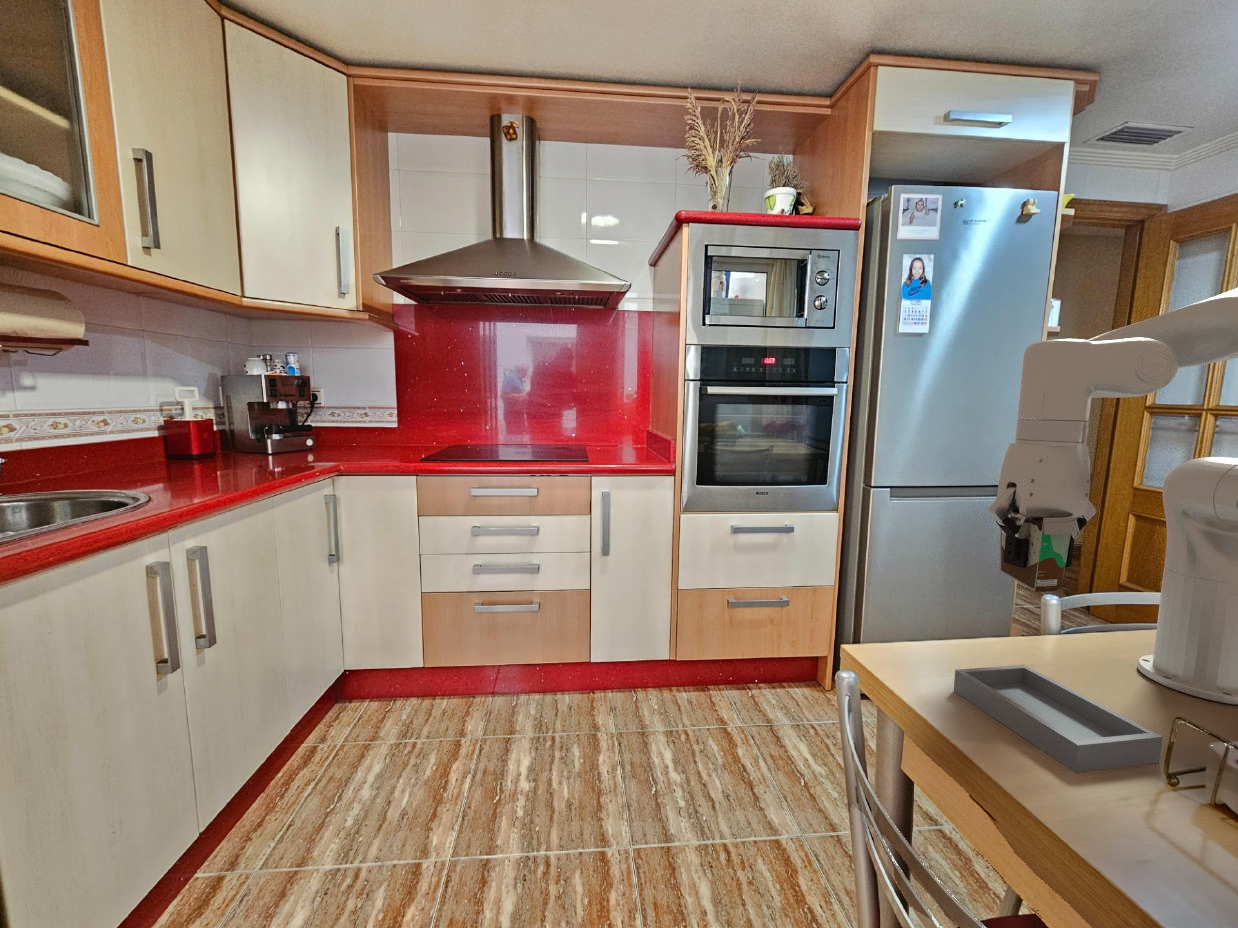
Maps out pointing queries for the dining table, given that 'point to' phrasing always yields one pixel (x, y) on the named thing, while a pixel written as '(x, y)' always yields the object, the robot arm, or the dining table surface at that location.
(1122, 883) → the dining table surface
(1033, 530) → the food container
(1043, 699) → the tray
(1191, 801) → the dining table surface
